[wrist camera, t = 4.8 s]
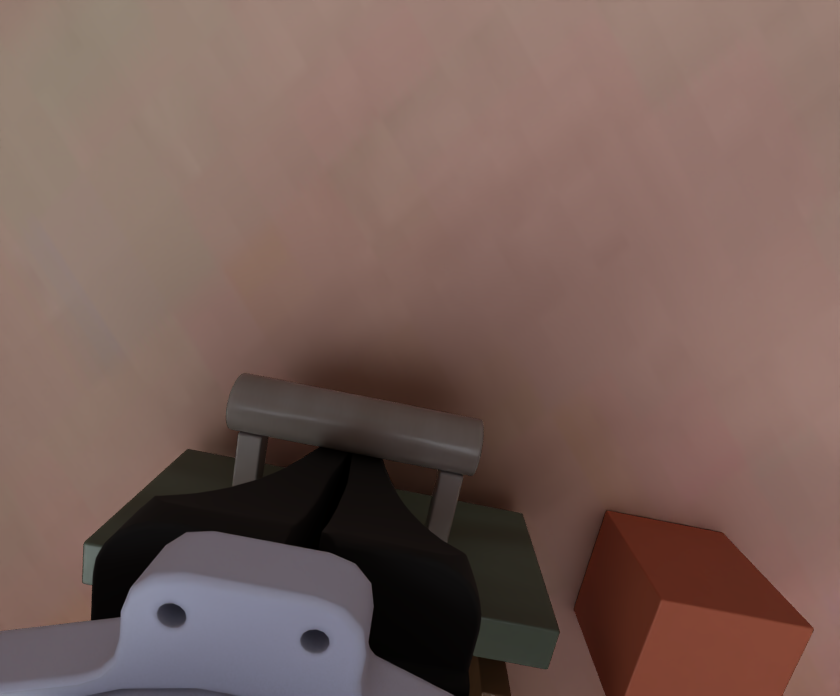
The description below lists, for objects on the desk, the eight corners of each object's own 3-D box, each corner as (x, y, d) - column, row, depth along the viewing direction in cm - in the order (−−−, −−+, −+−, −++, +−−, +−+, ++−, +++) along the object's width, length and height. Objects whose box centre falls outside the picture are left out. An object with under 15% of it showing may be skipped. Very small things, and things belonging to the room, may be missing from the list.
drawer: (198, 320, 15) (88, 364, 10) (557, 391, 16) (615, 467, 11) (162, 726, 19) (70, 896, 15) (448, 777, 20) (453, 961, 15)
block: (723, 532, 18) (815, 629, 13) (683, 630, 19) (757, 748, 14) (605, 509, 18) (661, 600, 13) (573, 609, 19) (615, 722, 14)
